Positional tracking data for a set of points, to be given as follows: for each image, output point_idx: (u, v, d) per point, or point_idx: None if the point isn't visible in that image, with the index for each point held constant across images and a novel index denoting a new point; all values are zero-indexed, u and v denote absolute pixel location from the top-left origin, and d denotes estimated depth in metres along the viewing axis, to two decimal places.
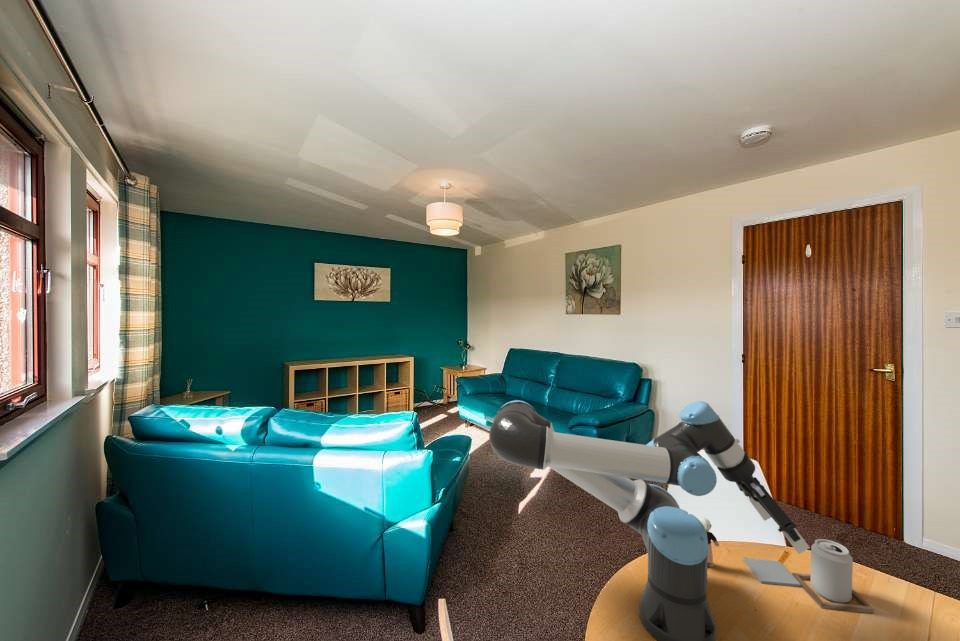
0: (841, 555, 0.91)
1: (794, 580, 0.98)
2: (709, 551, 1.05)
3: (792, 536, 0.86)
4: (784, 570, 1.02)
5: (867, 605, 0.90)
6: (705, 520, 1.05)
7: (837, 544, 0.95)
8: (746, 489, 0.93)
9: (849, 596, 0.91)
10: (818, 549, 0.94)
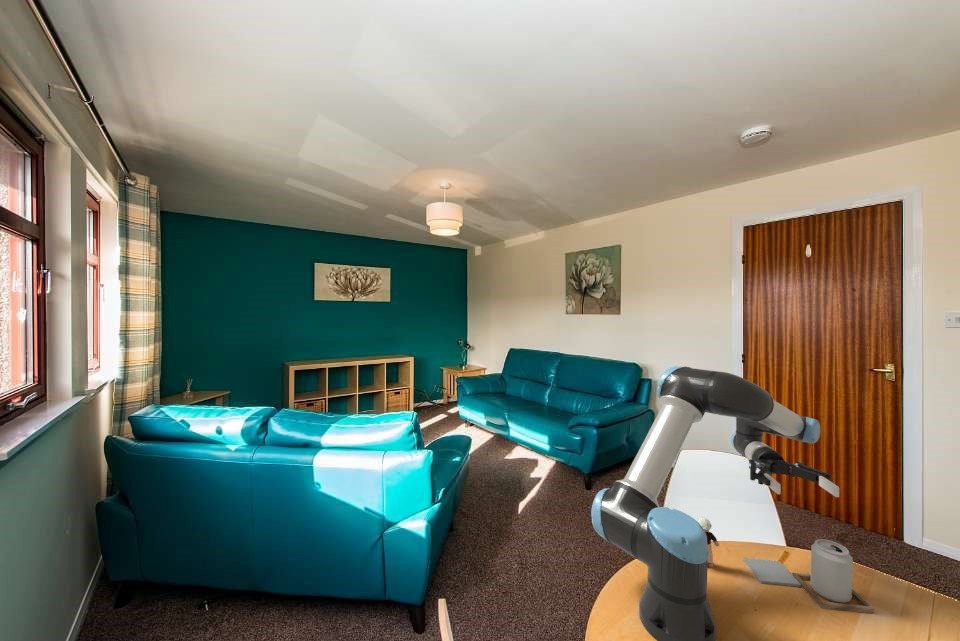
0: (841, 555, 0.91)
1: (794, 580, 0.98)
2: (709, 551, 1.05)
3: None
4: (784, 570, 1.02)
5: (867, 605, 0.90)
6: (705, 520, 1.05)
7: (837, 544, 0.95)
8: None
9: (849, 596, 0.91)
10: (818, 549, 0.94)
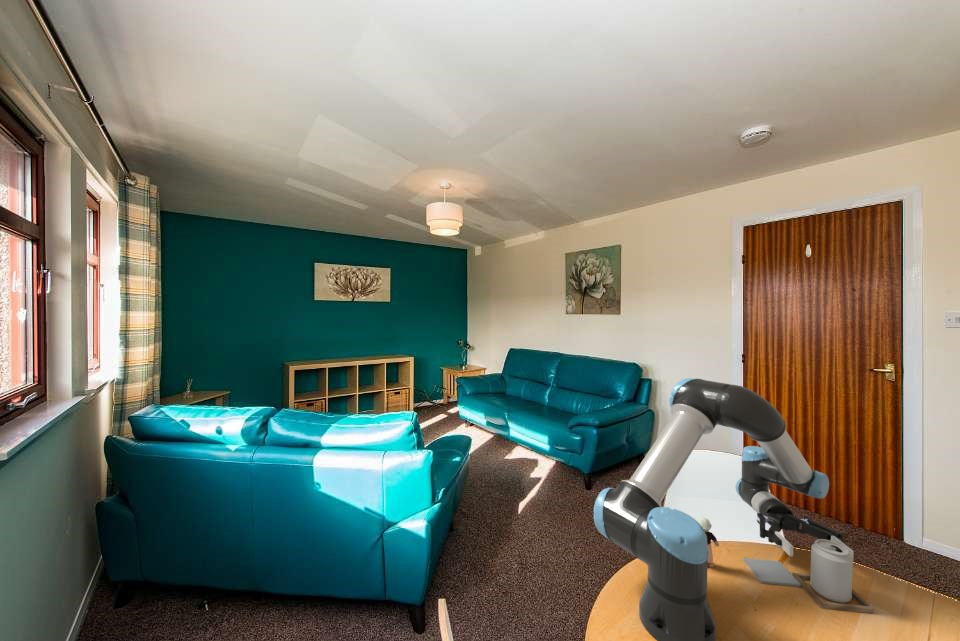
0: (842, 555, 0.91)
1: (794, 580, 0.98)
2: (709, 551, 1.05)
3: None
4: (784, 570, 1.02)
5: (867, 605, 0.90)
6: (705, 520, 1.05)
7: (837, 544, 0.95)
8: None
9: (849, 596, 0.91)
10: (818, 549, 0.94)
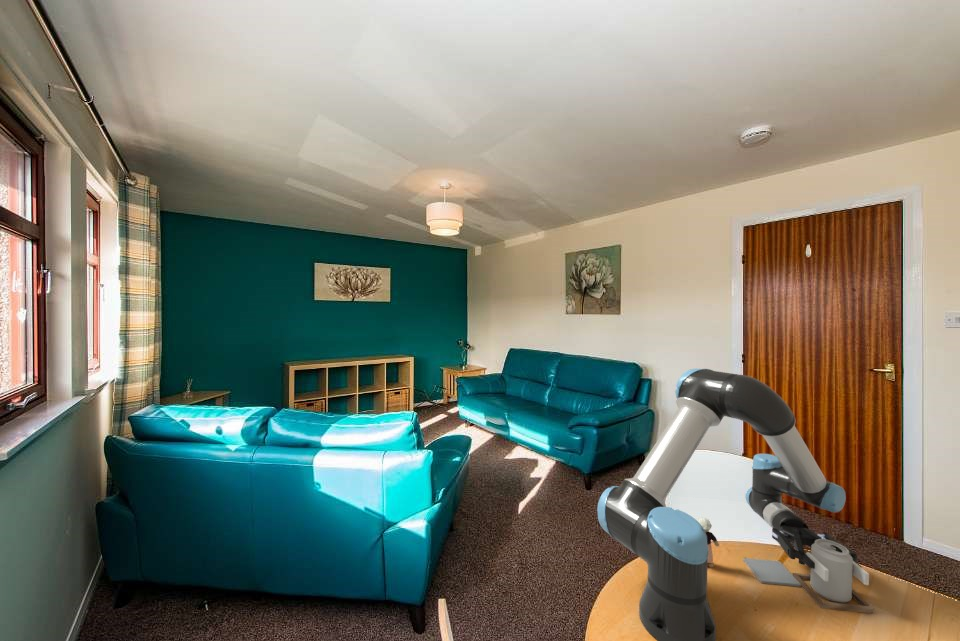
0: (841, 555, 0.91)
1: (794, 580, 0.98)
2: (709, 551, 1.05)
3: None
4: (784, 570, 1.02)
5: (867, 605, 0.90)
6: (705, 520, 1.05)
7: (837, 544, 0.95)
8: None
9: (849, 596, 0.91)
10: (818, 549, 0.94)
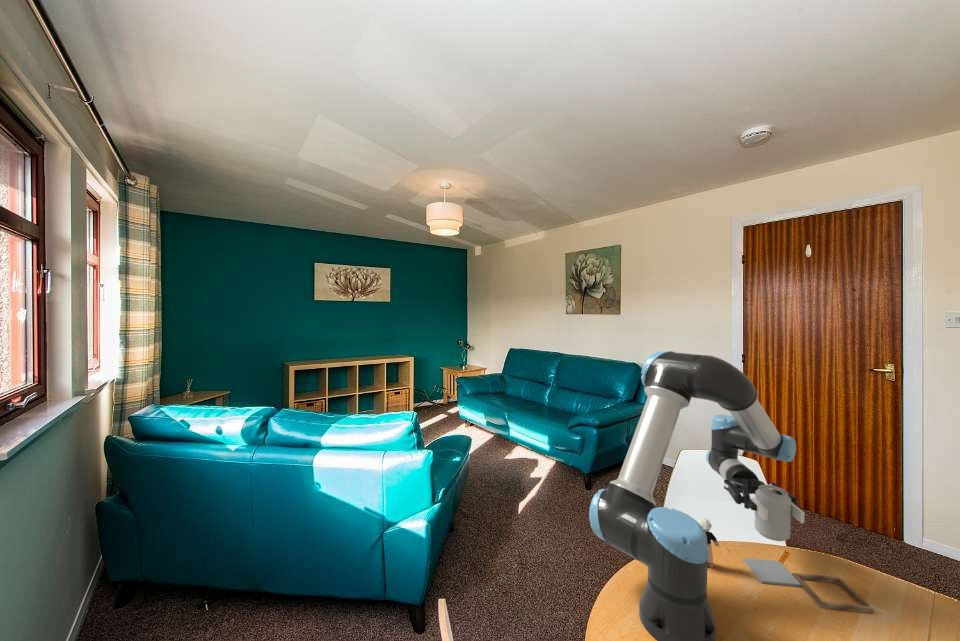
0: (780, 496, 0.98)
1: (794, 580, 0.98)
2: (709, 551, 1.05)
3: None
4: (784, 570, 1.02)
5: (867, 605, 0.90)
6: (705, 520, 1.05)
7: (779, 488, 1.02)
8: None
9: (787, 534, 0.98)
10: (760, 493, 1.01)
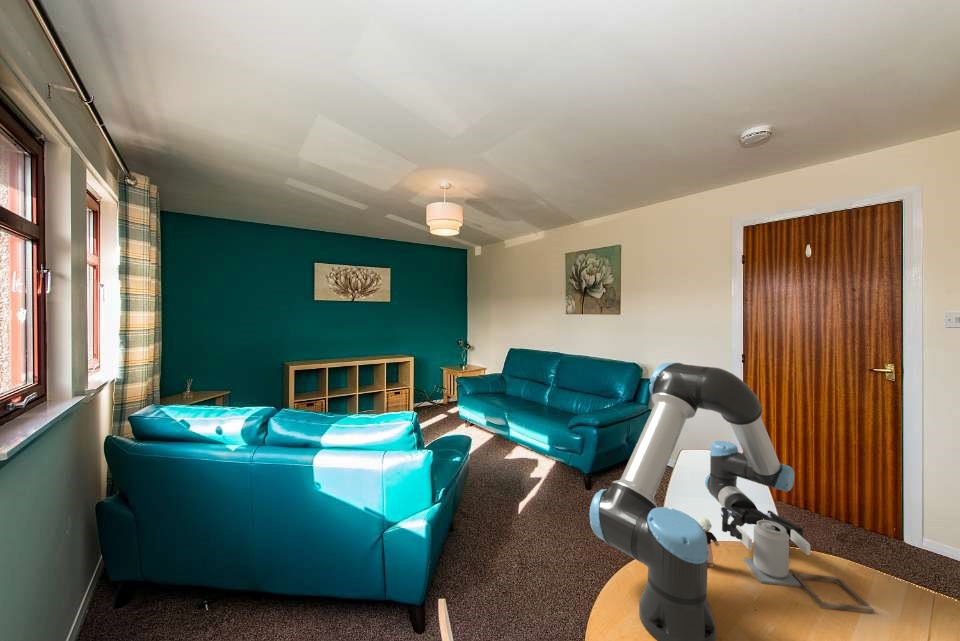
0: (778, 533, 0.99)
1: (794, 580, 0.98)
2: (709, 551, 1.05)
3: None
4: None
5: (867, 605, 0.90)
6: (705, 520, 1.05)
7: (777, 524, 1.03)
8: None
9: (786, 571, 0.99)
10: (759, 529, 1.02)
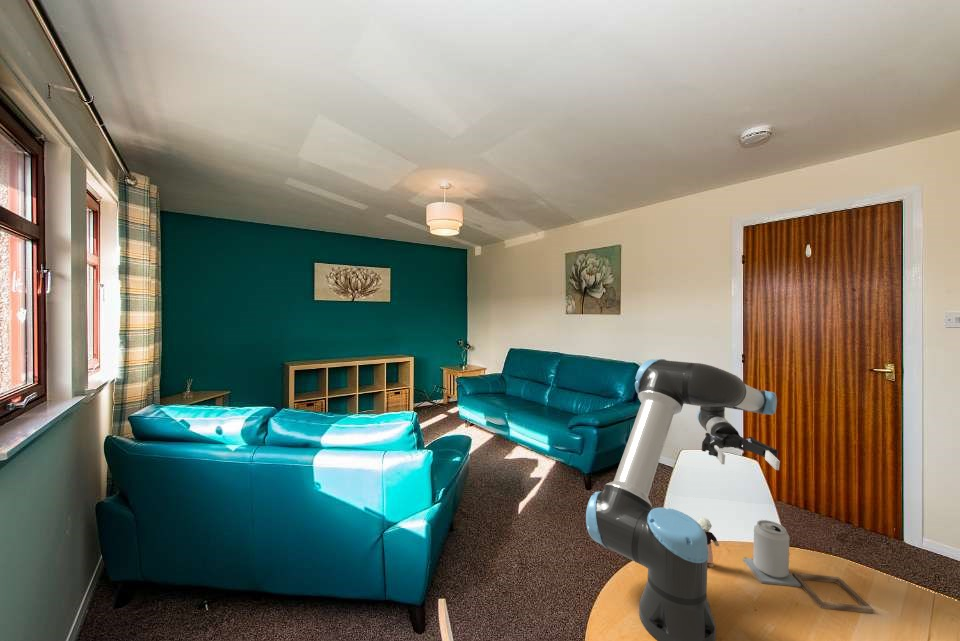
0: (779, 534, 0.99)
1: (794, 580, 0.98)
2: (709, 551, 1.05)
3: None
4: None
5: (867, 605, 0.90)
6: (705, 520, 1.05)
7: (777, 524, 1.03)
8: None
9: (786, 571, 0.99)
10: (759, 529, 1.02)
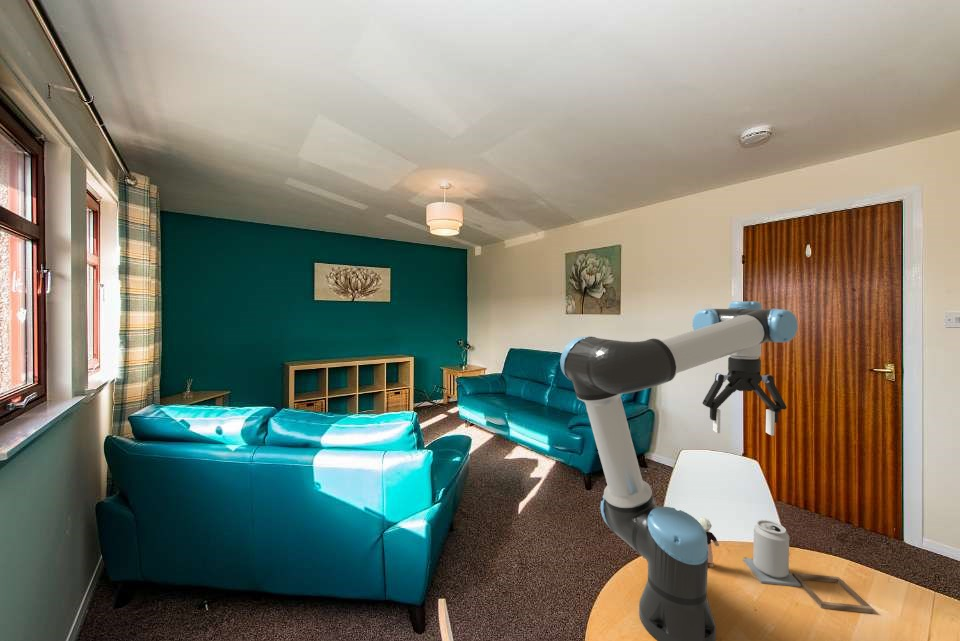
0: (778, 534, 0.99)
1: (794, 580, 0.98)
2: (709, 551, 1.05)
3: None
4: None
5: (867, 605, 0.90)
6: (705, 520, 1.05)
7: (777, 524, 1.03)
8: None
9: (786, 571, 0.99)
10: (759, 529, 1.02)
